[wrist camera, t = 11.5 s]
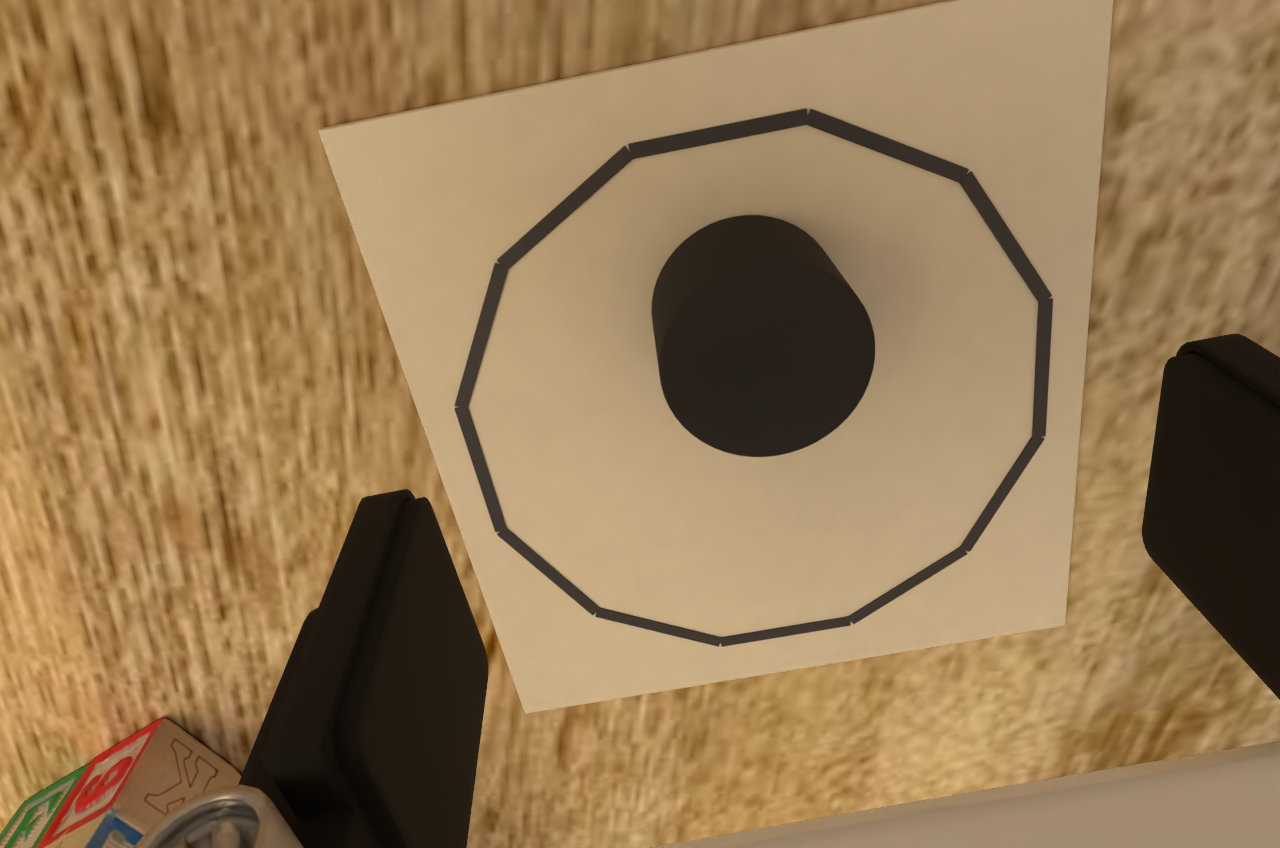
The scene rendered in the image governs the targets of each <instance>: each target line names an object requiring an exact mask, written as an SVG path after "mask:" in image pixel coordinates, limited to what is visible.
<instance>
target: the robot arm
mask: <svg viewBox="0 0 1280 848" xmlns="http://www.w3.org/2000/svg"><path fill="white" fill-rule="evenodd" d="M1142 537H1143V542H1144V545H1145V548H1146V550H1147V552H1148V554H1149V555H1150V557H1151V558H1152V560H1153V561H1154V562H1155V563H1156V564H1157V565H1158V566H1159V567H1160V568H1161V569H1162V571H1163V572H1164V573H1165V574H1166V575H1167V576H1168V577H1169V578H1170V579H1171V580H1172V582H1173V583H1174V584H1175V585H1176V586H1177V587H1178V588H1179V589H1180V590H1181V591H1182V593H1183V594H1184V595H1185V596H1186V597H1187V598H1188V599H1189V600H1190V601H1191V602H1192V604H1193V605H1194V606H1195V607H1196V608H1197V609H1198V610H1199V611H1200V612H1201V613H1202V615H1203V616H1204V617H1205V618H1206V619H1207V620H1208V621H1209V622H1210V623H1211V624H1212V626H1213V627H1214V628H1215V629H1216V630H1217V631H1218V632H1219V633H1220V634H1221V635H1222V637H1223V638H1224V639H1225V640H1226V641H1227V642H1228V643H1229V644H1230V645H1231V646H1232V648H1233V649H1234V650H1235V651H1236V652H1237V653H1238V654H1239V655H1240V656H1241V657H1242V659H1243V660H1244V661H1245V662H1246V663H1247V664H1248V665H1249V666H1250V667H1251V668H1252V670H1253V671H1254V672H1255V673H1256V674H1257V675H1258V676H1259V677H1260V678H1261V679H1262V680H1263V682H1264V683H1265V684H1266V685H1267V686H1268V687H1269V688H1270V689H1271V690H1272V691H1273V693H1274V694H1275V695H1276V696H1277V697H1278V698H1279V699H1280V357H1278V356H1276V355H1275V354H1273V353H1271V352H1270V351H1268V350H1266V349H1265V348H1263V347H1262V346H1260V345H1258V344H1257V343H1255V342H1253V341H1252V340H1250V339H1248V338H1247V337H1245V336H1242V335H1240V334H1229V335H1224V336H1219V337H1213V338H1208V339H1203V340H1197V341H1192V342H1187V343H1185V344H1184V345H1182V346H1181V347H1180V349H1179V350H1178V352H1177V355H1176V356H1175V357H1172V358H1170V359H1169V360H1168V361H1167V363H1166V364H1165V368H1164V373H1163V380H1162V387H1161V395H1160V402H1159V409H1158V416H1157V424H1156V431H1155V438H1154V445H1153V453H1152V460H1151V467H1150V474H1149V482H1148V489H1147V496H1146V503H1145V511H1144V518H1143V525H1142ZM487 682H488V660H487V654H486V650H485V647H484V644H483V641H482V639H481V636H480V633H479V631H478V628H477V625H476V623H475V620H474V617H473V615H472V612H471V609H470V607H469V604H468V601H467V599H466V596H465V594H464V591H463V588H462V586H461V583H460V580H459V578H458V575H457V572H456V570H455V567H454V564H453V562H452V559H451V556H450V554H449V551H448V548H447V546H446V543H445V540H444V538H443V535H442V532H441V530H440V527H439V524H438V522H437V519H436V516H435V514H434V511H433V508H432V506H431V504H430V502H429V500H428V499H427V498H425V497H423V498H417V499H415V497H414V495H413V494H412V493H411V491H409V490H407V489H405V490H399V491H394V492H389V493H383V494H378V495H373V496H367V497H364V498H362V500H361V502H360V503H359V506H358V509H357V511H356V514H355V516H354V519H353V521H352V524H351V526H350V529H349V531H348V534H347V537H346V539H345V542H344V544H343V547H342V549H341V552H340V554H339V557H338V559H337V562H336V565H335V567H334V570H333V572H332V575H331V577H330V580H329V582H328V585H327V587H326V590H325V593H324V595H323V598H322V600H321V603H320V605H319V608H317V609H315V610H313V611H312V612H310V613H309V614H308V616H307V618H306V620H305V621H304V623H303V626H302V628H301V630H300V633H299V635H298V638H297V640H296V643H295V645H294V648H293V650H292V653H291V655H290V658H289V660H288V663H287V665H286V667H285V670H284V672H283V675H282V677H281V680H280V682H279V685H278V687H277V690H276V692H275V695H274V697H273V699H272V702H271V704H270V707H269V709H268V712H267V714H266V717H265V719H264V722H263V724H262V727H261V729H260V732H259V734H258V736H257V739H256V741H255V744H254V746H253V749H252V751H251V754H250V756H249V759H248V761H247V764H246V766H245V769H244V771H243V773H242V776H241V778H240V781H239V783H238V785H232V786H222V787H218V788H215V789H212V790H209V791H207V792H204V793H201V794H198V795H196V796H194V797H192V798H191V799H189V800H187V801H185V802H184V803H182V804H180V805H179V806H177V807H175V808H173V809H172V810H171V811H170V812H169V813H167V814H166V815H165V816H164V817H162V818H161V819H160V820H159V821H158V822H156V823H155V824H154V825H153V826H152V827H151V828H150V829H149V830H148V831H147V832H146V833H145V835H144V836H143V837H142V838H141V839H140V840H139V842H138V843H137V844H136V845H135V846H134V847H133V848H466V846H467V838H468V831H469V823H470V815H471V807H472V799H473V791H474V784H475V776H476V768H477V760H478V752H479V744H480V737H481V729H482V721H483V713H484V705H485V698H486V690H487ZM650 848H1280V741H1278V742H1272V743H1265V744H1259V745H1253V746H1247V747H1241V748H1235V749H1229V750H1222V751H1216V752H1210V753H1204V754H1198V755H1192V756H1186V757H1179V758H1173V759H1167V760H1161V761H1155V762H1149V763H1143V764H1136V765H1130V766H1124V767H1119V768H1113V769H1107V770H1101V771H1095V772H1089V773H1083V774H1077V775H1071V776H1065V777H1059V778H1053V779H1047V780H1041V781H1035V782H1029V783H1023V784H1017V785H1011V786H1005V787H999V788H993V789H987V790H981V791H975V792H969V793H964V794H958V795H952V796H946V797H940V798H934V799H928V800H922V801H916V802H910V803H905V804H899V805H893V806H887V807H881V808H875V809H869V810H863V811H857V812H851V813H846V814H840V815H834V816H828V817H823V818H817V819H811V820H805V821H800V822H794V823H788V824H782V825H777V826H771V827H765V828H759V829H754V830H748V831H742V832H736V833H731V834H725V835H719V836H713V837H708V838H702V839H696V840H690V841H685V842H679V843H673V844H668V845H662V846H656V847H650Z"/></svg>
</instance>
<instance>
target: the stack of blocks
mask: <svg viewBox="0 0 1280 848" xmlns="http://www.w3.org/2000/svg"><path fill="white" fill-rule="evenodd" d="M240 778H241V775H240V774H239V773H238V772H237V771H236V769H234V768H233V767H232V766H231V765H229V764H228V763H227V762H226V761H224V760H223V759H222V758H220V757H219V756H218V755H216V754H215V753H213V752H212V751H211V750H209V749H208V748H207V747H205V746H204V745H202V744H201V743H200V742H198V741H197V740H196V739H194V738H193V737H192V736H190V735H189V734H188V733H186V732H185V731H184V730H182V729H181V728H180V727H178V726H177V725H175V724H174V723H173V722H171V721H170V720H167V719H164V718H161V719H159V720H157V721H155V722H153V723H152V724H150V725H148V726H147V727H145V728H143V729H142V730H140V731H138V732H136V733H135V734H133V735H132V736H130V737H129V738H127V739H125V740H123V741H122V742H120V743H118V744H117V745H115V746H114V747H112V748H110V749H109V750H107V751H105V752H104V753H102V754H101V755H99V756H97V757H96V758H94V759H93V760H92V762H91V763H90V764H89V765H86V766H84V767H82V768H80V769H78V770H76V771H75V772H73V773H71V774H70V775H68V776H66V777H65V778H63V779H61V780H60V781H58V782H56V783H55V784H53V785H51V786H50V787H48V788H46V789H45V790H43V791H41V792H39V793H38V794H36V795H34V796H33V797H31V798H29V799H28V800H26V801H24V803H23V804H22V805H21V806H20V807H19V809H18V810H17V811H16V813H15V814H14V815H13V817H12V818H11V819H10V821H9V822H8V824H7V825H6V827H5V828H4V830H3V831H2V832H1V834H0V848H133V847H134V846H135V845H136V844H137V843H138V842H139V840H140V839H141V838H142V837H143V836H144V835H145V833H146V832H147V831H148V830H149V829H150V828H151V827H152V826H153V825H154V824H155V823H156V822H158V821H159V820H160V819H161V818H162V817H164V816H165V815H166V814H167V813H169V812H170V811H171V810H172V809H173V808H175V807H177V806H179V805H180V804H182V803H184V802H185V801H187V800H189V799H191V798H192V797H194V796H196V795H198V794H201V793H204V792H207V791H209V790H212V789H215V788H218V787H222V786H232V785H238V783H239V781H240Z"/></svg>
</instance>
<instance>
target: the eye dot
mask: <svg viewBox="0 0 1280 848" xmlns="http://www.w3.org/2000/svg"><path fill="white" fill-rule="evenodd" d="M651 314H652V323H653V331H654V338H655V346H656V353H657V360H658V368H659V375H660V383H661V387H662V390H663V394H664V397H665V399H666V402H667V404H668V406H669V408H670V410H671V411H672V413H673V414H674V416H675V418H676V419H677V420H678V421H679V422H680V424H681V425H682V426H683V427H684V428H685V429H686V430H687V431H688V432H690V433H691V434H692V435H693V436H694V437H696V438H697V439H699V440H700V441H702V442H703V443H705V444H707V445H709V446H711V447H713V448H715V449H718V450H720V451H723V452H726V453H730V454H734V455H739V456H747V457H770V456H778V455H783V454H787V453H791V452H794V451H797V450H800V449H803V448H805V447H808V446H810V445H812V444H814V443H816V442H818V441H819V440H821V439H823V438H824V437H826V436H827V435H829V434H830V433H831V432H833V431H834V430H835V429H836V428H838V427H839V426H840V425H841V424H842V423H843V422H844V421H845V420H846V419H847V418H848V417H849V416H850V414H851V413H852V412H853V411H854V409H855V408H856V407H857V405H858V404H859V402H860V400H861V399H862V397H863V395H864V393H865V391H866V389H867V387H868V384H869V382H870V378H871V375H872V372H873V367H874V361H875V337H874V331H873V327H872V324H871V320H870V317H869V315H868V313H867V311H866V309H865V307H864V305H863V304H862V302H861V301H860V299H859V298H858V296H857V295H856V293H855V292H854V291H853V289H852V288H851V287H850V285H849V284H848V282H847V281H846V280H845V278H844V277H843V276H842V274H841V273H840V271H839V270H838V269H837V267H836V266H835V265H834V263H833V262H832V261H831V259H830V258H829V256H828V255H827V254H826V252H825V251H824V250H823V248H822V247H821V246H820V245H819V244H818V243H817V242H816V240H815V239H814V238H812V237H811V236H810V235H809V234H808V233H806V232H805V231H804V230H802V229H800V228H799V227H797V226H795V225H793V224H791V223H789V222H786V221H784V220H781V219H777V218H774V217H769V216H761V215H743V216H735V217H730V218H726V219H722V220H719V221H717V222H714V223H712V224H709V225H707V226H705V227H703V228H702V229H700V230H698V231H696V232H695V233H694V234H692V235H691V236H689V237H688V238H687V239H686V240H684V241H683V242H682V243H681V244H680V245H679V246H678V247H677V248H676V249H675V251H674V252H673V253H672V254H671V255H670V257H669V258H668V260H667V261H666V263H665V264H664V266H663V268H662V270H661V272H660V274H659V276H658V278H657V281H656V284H655V288H654V291H653V297H652V311H651Z"/></svg>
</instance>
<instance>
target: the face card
mask: <svg viewBox="0 0 1280 848" xmlns="http://www.w3.org/2000/svg"><path fill="white" fill-rule="evenodd" d="M1113 1H1114V0H947V1H942V2H937V3H932V4H927V5H922V6H917V7H912V8H907V9H903V10H898V11H893V12H888V13H883V14H878V15H873V16H868V17H863V18H858V19H853V20H849V21H844V22H839V23H834V24H829V25H824V26H819V27H814V28H809V29H804V30H800V31H795V32H790V33H785V34H780V35H775V36H770V37H765V38H760V39H755V40H751V41H746V42H741V43H736V44H731V45H726V46H721V47H716V48H711V49H706V50H702V51H697V52H692V53H687V54H682V55H677V56H672V57H667V58H662V59H657V60H652V61H648V62H643V63H638V64H633V65H628V66H623V67H618V68H613V69H608V70H603V71H599V72H594V73H589V74H584V75H579V76H574V77H569V78H564V79H559V80H554V81H550V82H545V83H540V84H535V85H530V86H525V87H520V88H515V89H510V90H505V91H501V92H496V93H491V94H486V95H481V96H476V97H471V98H466V99H461V100H456V101H451V102H447V103H442V104H437V105H432V106H427V107H422V108H417V109H412V110H407V111H402V112H398V113H393V114H388V115H383V116H378V117H373V118H368V119H363V120H358V121H353V122H349V123H344V124H339V125H334V126H329V127H324V128H322V129H320V130H319V131H318V132H319V135H320V138H321V141H322V144H323V147H324V149H325V152H326V155H327V158H328V161H329V163H330V166H331V169H332V172H333V175H334V178H335V180H336V183H337V186H338V189H339V192H340V194H341V197H342V200H343V203H344V206H345V209H346V211H347V214H348V217H349V220H350V223H351V225H352V228H353V231H354V234H355V237H356V239H357V242H358V245H359V248H360V251H361V254H362V256H363V259H364V262H365V265H366V268H367V270H368V273H369V276H370V279H371V282H372V285H373V287H374V290H375V293H376V296H377V299H378V301H379V304H380V307H381V310H382V313H383V315H384V318H385V321H386V324H387V327H388V330H389V332H390V335H391V338H392V341H393V344H394V346H395V349H396V352H397V355H398V358H399V361H400V363H401V366H402V369H403V372H404V375H405V377H406V380H407V383H408V386H409V389H410V392H411V394H412V397H413V400H414V403H415V406H416V408H417V411H418V414H419V417H420V420H421V422H422V425H423V428H424V431H425V434H426V437H427V439H428V442H429V445H430V448H431V451H432V453H433V456H434V459H435V462H436V465H437V468H438V470H439V473H440V476H441V479H442V482H443V484H444V487H445V490H446V493H447V496H448V498H449V501H450V504H451V507H452V510H453V513H454V515H455V518H456V521H457V524H458V527H459V529H460V532H461V535H462V538H463V541H464V544H465V546H466V549H467V552H468V555H469V558H470V560H471V563H472V566H473V569H474V572H475V575H476V577H477V580H478V583H479V586H480V589H481V591H482V594H483V597H484V600H485V603H486V605H487V608H488V611H489V614H490V617H491V620H492V622H493V625H494V628H495V631H496V634H497V636H498V639H499V642H500V645H501V648H502V651H503V653H504V656H505V659H506V662H507V665H508V667H509V670H510V673H511V676H512V679H513V682H514V684H515V687H516V690H517V693H518V696H519V698H520V701H521V704H522V707H523V710H524V712H525V713H533V712H539V711H545V710H551V709H557V708H563V707H569V706H575V705H582V704H588V703H594V702H600V701H606V700H612V699H618V698H625V697H631V696H637V695H643V694H649V693H655V692H661V691H668V690H674V689H680V688H686V687H692V686H698V685H704V684H711V683H717V682H723V681H729V680H735V679H741V678H747V677H754V676H760V675H766V674H772V673H778V672H784V671H790V670H797V669H803V668H809V667H815V666H821V665H827V664H833V663H839V662H846V661H852V660H858V659H864V658H870V657H876V656H882V655H889V654H895V653H901V652H907V651H913V650H919V649H925V648H932V647H938V646H944V645H950V644H956V643H962V642H968V641H975V640H981V639H987V638H993V637H999V636H1005V635H1011V634H1018V633H1024V632H1030V631H1036V630H1042V629H1048V628H1054V627H1061V626H1065V621H1066V608H1067V596H1068V583H1069V570H1070V557H1071V544H1072V531H1073V518H1074V505H1075V492H1076V479H1077V466H1078V453H1079V440H1080V428H1081V415H1082V402H1083V389H1084V376H1085V363H1086V350H1087V337H1088V324H1089V311H1090V298H1091V285H1092V273H1093V260H1094V247H1095V234H1096V221H1097V208H1098V195H1099V182H1100V169H1101V156H1102V143H1103V130H1104V117H1105V105H1106V92H1107V79H1108V66H1109V53H1110V40H1111V27H1112V14H1113ZM743 215H761V216H769V217H774V218H777V219H781V220H784V221H786V222H789V223H791V224H793V225H795V226H797V227H799V228H800V229H802V230H804V231H805V232H806V233H808V234H809V235H810V236H811V237H812V238H814V239H815V240H816V242H817V243H818V244H819V245H820V246H821V247H822V248H823V250H824V251H825V252H826V254H827V255H828V256H829V258H830V259H831V261H832V262H833V263H834V265H835V266H836V267H837V269H838V270H839V271H840V273H841V274H842V276H843V277H844V278H845V280H846V281H847V282H848V284H849V285H850V287H851V288H852V289H853V291H854V292H855V293H856V295H857V296H858V298H859V299H860V301H861V302H862V304H863V305H864V307H865V309H866V311H867V313H868V315H869V317H870V320H871V324H872V327H873V331H874V337H875V361H874V367H873V372H872V375H871V378H870V382H869V384H868V387H867V389H866V391H865V393H864V395H863V397H862V399H861V400H860V402H859V404H858V405H857V407H856V408H855V409H854V411H853V412H852V413H851V414H850V416H849V417H848V418H847V419H846V420H845V421H844V422H843V423H842V424H841V425H840V426H839V427H838V428H836V429H835V430H834V431H833V432H831V433H830V434H829V435H827V436H826V437H824V438H823V439H821V440H819V441H818V442H816V443H814V444H812V445H810V446H808V447H805V448H803V449H800V450H797V451H794V452H791V453H787V454H783V455H778V456H770V457H747V456H739V455H734V454H730V453H726V452H723V451H720V450H718V449H715V448H713V447H711V446H709V445H707V444H705V443H703V442H702V441H700V440H699V439H697V438H696V437H694V436H693V435H692V434H691V433H690V432H688V431H687V430H686V429H685V428H684V427H683V426H682V425H681V424H680V422H679V421H678V420H677V419H676V418H675V416H674V414H673V413H672V411H671V410H670V408H669V406H668V404H667V402H666V399H665V397H664V394H663V390H662V387H661V383H660V375H659V368H658V360H657V353H656V346H655V338H654V331H653V323H652V314H651V311H652V297H653V291H654V288H655V284H656V281H657V278H658V276H659V274H660V272H661V270H662V268H663V266H664V264H665V263H666V261H667V260H668V258H669V257H670V255H671V254H672V253H673V252H674V251H675V249H676V248H677V247H678V246H679V245H680V244H681V243H682V242H683V241H684V240H686V239H687V238H688V237H689V236H691V235H692V234H694V233H695V232H696V231H698V230H700V229H702V228H703V227H705V226H707V225H709V224H712V223H714V222H717V221H719V220H722V219H726V218H730V217H735V216H743Z"/></svg>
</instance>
